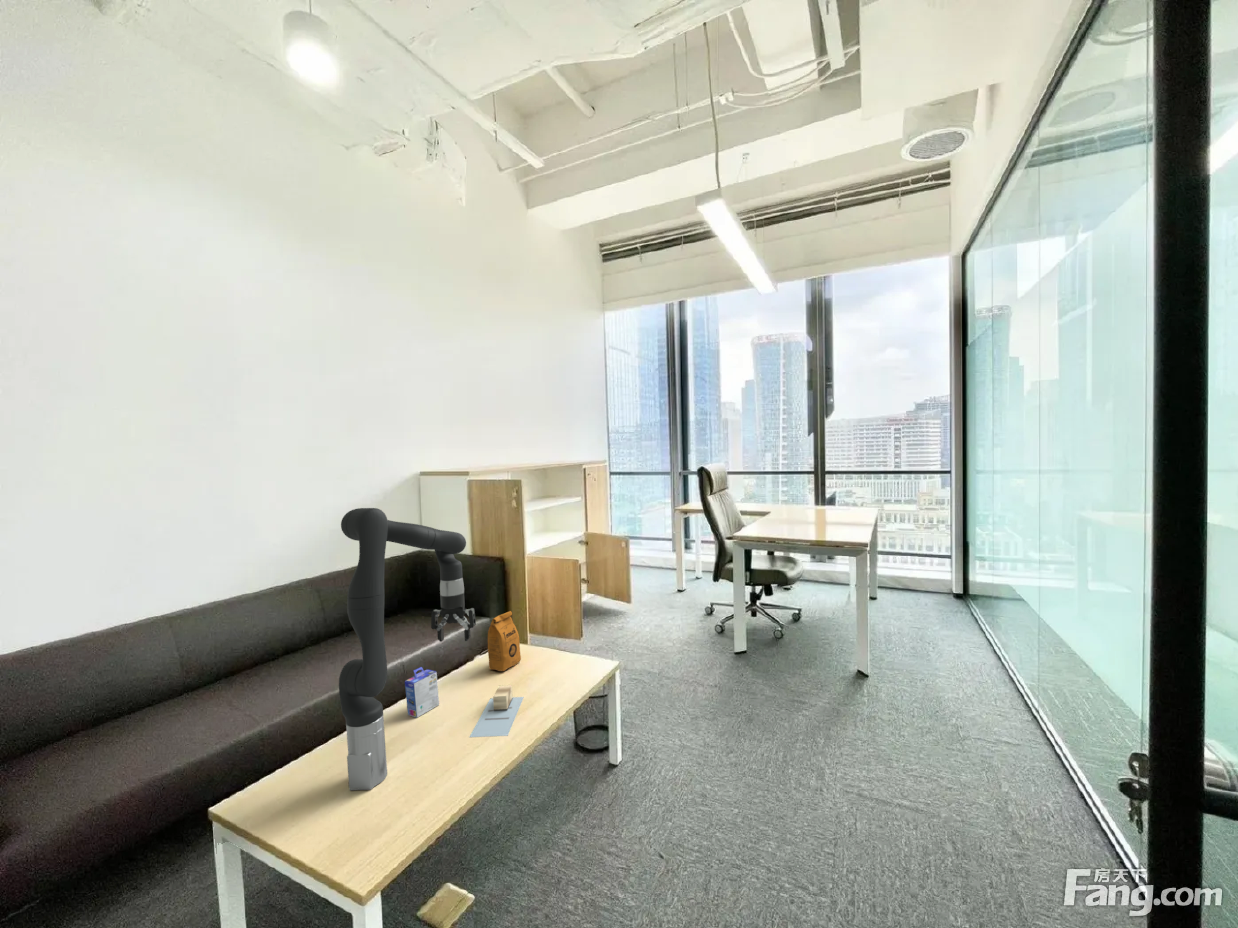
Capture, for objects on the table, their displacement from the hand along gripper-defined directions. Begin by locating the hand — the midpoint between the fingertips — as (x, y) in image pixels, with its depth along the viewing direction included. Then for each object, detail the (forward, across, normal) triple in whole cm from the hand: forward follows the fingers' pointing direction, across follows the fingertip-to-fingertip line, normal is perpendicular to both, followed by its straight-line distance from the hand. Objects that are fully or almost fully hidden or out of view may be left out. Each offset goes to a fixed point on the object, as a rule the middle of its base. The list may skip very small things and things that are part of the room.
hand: (454, 640), depth 167 cm
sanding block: (+25, +14, +7) cm, 29 cm away
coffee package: (+26, +5, +42) cm, 50 cm away
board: (+27, +14, 0) cm, 30 cm away
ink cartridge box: (+27, -15, +8) cm, 32 cm away
